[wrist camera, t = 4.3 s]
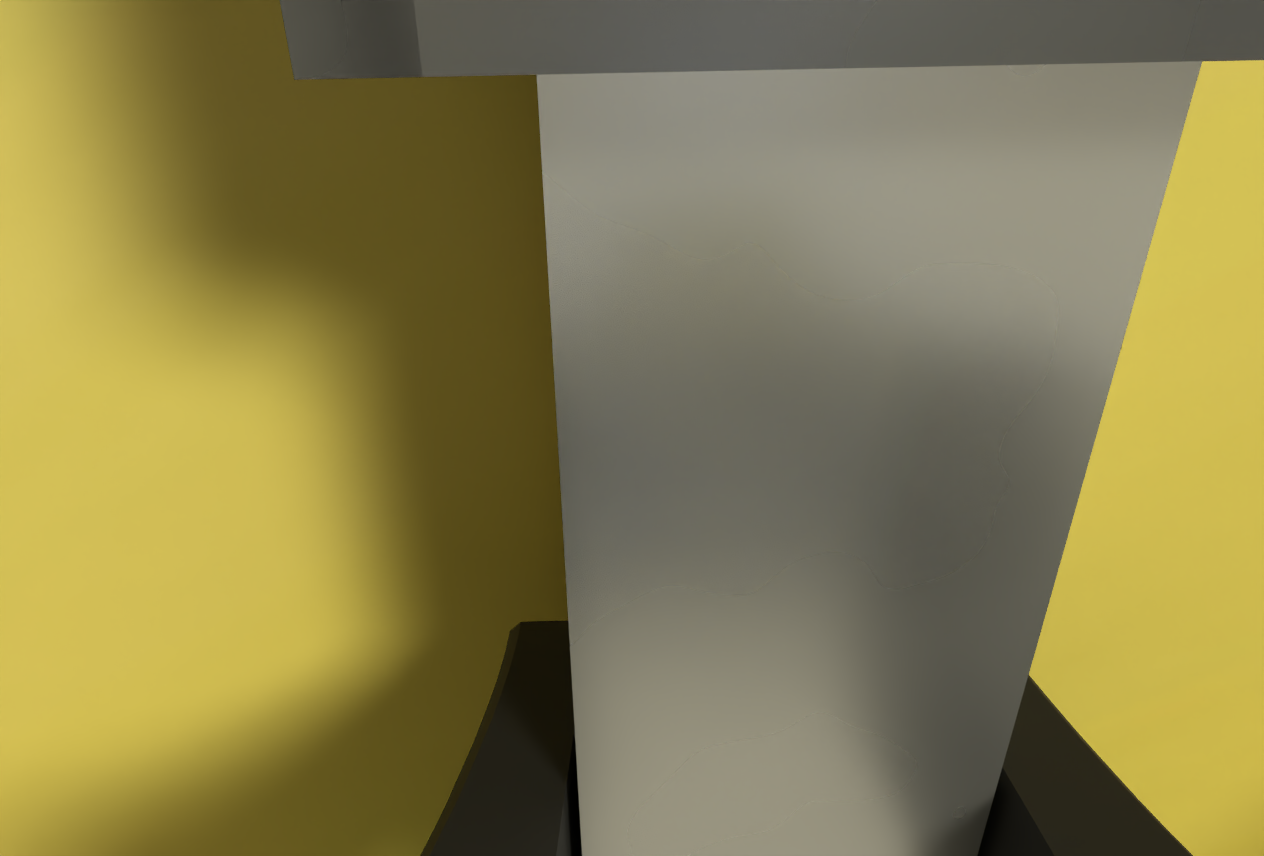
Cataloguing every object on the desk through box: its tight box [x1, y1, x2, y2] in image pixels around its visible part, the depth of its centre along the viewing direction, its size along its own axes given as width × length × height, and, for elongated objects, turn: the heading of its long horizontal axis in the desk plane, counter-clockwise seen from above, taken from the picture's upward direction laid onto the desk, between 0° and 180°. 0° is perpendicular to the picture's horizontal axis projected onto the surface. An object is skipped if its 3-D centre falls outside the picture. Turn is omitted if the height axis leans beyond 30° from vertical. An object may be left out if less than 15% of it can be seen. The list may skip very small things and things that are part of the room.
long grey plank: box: [537, 61, 1202, 856], centre depth 9 cm, size 3×14×3 cm, turn 1°
